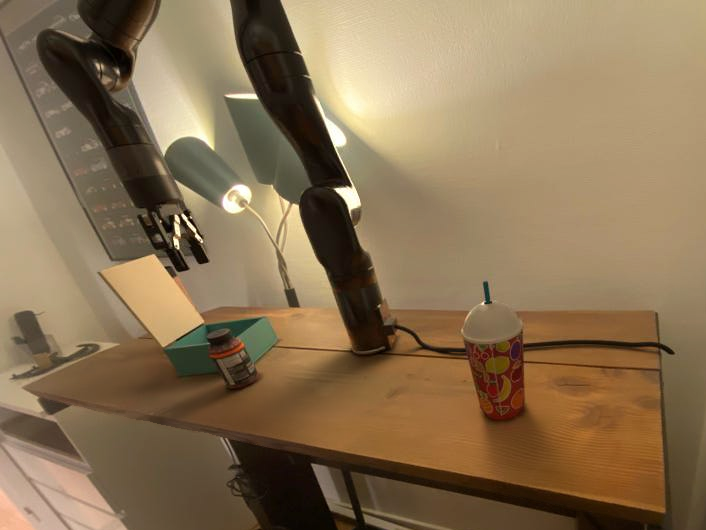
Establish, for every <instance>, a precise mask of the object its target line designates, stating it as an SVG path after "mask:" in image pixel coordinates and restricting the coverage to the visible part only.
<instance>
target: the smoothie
mask: <svg viewBox="0 0 706 530" xmlns="http://www.w3.org/2000/svg"><path fill="white" fill-rule="evenodd" d="M482 286H483V294H484V301H481V302H479V303H477V304H476V305H474V306H473V307H472V308H471V309H470V310H469V311H468V313H467V314H466V317H465V319H464V323H463V326H462V327H461V329H460V335H461V337H462V341H463V345H464V348H465V349H466V352H465V353H466V357H467V360H468V364H469V368H470V372H471V377H472V380H473V384H474V387H475V391H476V395H477V400H478V403H479V407H480V409H481V410H482V411H483V412H484V414H485V416H487V417H488V418H490V419H493V420H495V421H504V420H510V419H512V418H515V417H516V416H518V415H519V414H520V412H521V411H522V409H523V406H524V405H525V400H526V397H525V396H526V394H525V393H526V391H525V358H524V356H525V355H524V348H523V344H524V329H523V328H524V323H523V321H522V319H520V318H519V317H518V315H517V313H516V311H515V310H514V309H513V308H512V307H511V306H509V305H508V304H506V303H505V302H502V301H499V300H495V299H491V294H490V293H491V292H490V287H489V282H488V280H484V281H482Z"/></svg>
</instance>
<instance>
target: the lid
mask: <svg viewBox="0 0 706 530" xmlns="http://www.w3.org/2000/svg"><path fill="white" fill-rule="evenodd" d="M164 267H165V266H164V265H163V264H162V262H161V261H160V260H159V258H158V257H157V256H156V254H155V253H152V254H149V255H146V256H143V257H140V258H137V259H133V260H130V261H128V262H127V261H126V262H124V263H121V264H117V265H115V266H112V267H111V266H110V267H108V268H105V269H102V270H99V271H96V274H97V275H98V276H99V277H100V279H102V281H103V282H104V283H105V284H106V286H107V287H108V288H109V289H110V290H111V292H112V293H113V294H114V295H115V296H116V297H117V299H118V300H119V301H120V302H121V304H122V305H123V306H124V307H125V308H126V309H127V310H128V312H129V313H130V314H131V315H132V316H133V318H134V319H135V320H136V321H137V323H138V324H139V325H140V326H141V327H142V328H143V330H144V331H145V332H146V333H147V334H148V336H149V337H150V338H151V339H152V340H153V342H154V343H155V344H156V345H157V346H158V347H159V349H162V348H166V346H168V345H171V344H172V343H173V342H176V339H178V338H179V337H181V336H183V335H184V334H186V333H188V332H189V331H191V330H192V329H194V328H196V327H197V326H199V325H201V324H202V323H203V324H205V319H203V317H202V316H201V314H200V313H199V312H198V310H197V308H196V307H195V308H196V309H195V308H194V307H193V305H192V304H191V303H190V301H189V300H188V299H187V297H186V296H185V295H184V293H183V292H182V291H181V289H180V288H179V287H178V285H177V284H176V283H175V281H174V280H173V279H172V277H171V276H170V275H169V273H168V272H167V271H166V269H165V268H164ZM196 310H197V311H196Z"/></svg>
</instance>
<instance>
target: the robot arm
mask: <svg viewBox="0 0 706 530" xmlns="http://www.w3.org/2000/svg"><path fill="white" fill-rule="evenodd" d="M162 3H163V0H77V1H76V11H77V14H78V16H79V18H80V19H81V21H82V22H83V23H84V25H86V27H88V29H89V30H91V34H90V35H89V36H88V37H84V36H81V35H77V34H74V33H72V32H68V31H66V30H62V29H57V28H44V29H42V30H40V31H39V32H38V34H37V35H36V38H35V49H36V54H37V56H38V59H39V62H40V64H41V65H42V68H44V70H45V72H46V73H47V75H48V76H49V77H50V79H51V80H52V82H53V83H54V84H55V85H56V86H57V88H58V89H59V90H60V91H61V92H62V93H63V95H64V96H65V97H66V98H67V99H68V101H69V102H71V104H72V105H73V106H74V107H75V109H76V110H77V111H78V112H79V114H81V116H83V118H85V119H86V121H87V122H88V123H89V125H90V126H91V128H92V131H93V132H94V134H95V135H96V137H97V139H98V141H99V142H100V144H101V146H102V147H103V150H104V151H105V153H106V154H107V157H108V160H109V162H110V164H111V167H112V168H113V170H114V172H115V174H116V175H117V178H118V179H119V181H120V183H121V184H122V186H123V188H124V190H125V191H126V194H127V195H128V197H129V199H130V200H131V202H132V203H133V205H134V207H135V208H136V209H138V210H146V212H144V213H140V214H137V215H136V218H137V220H138V222H139V224H140V226H141V227H142V229H143V231H144V233H145V235H146V236H147V238H148V240H149V242H150V243H151V245H152V246H151V247H153V249H154V250H155V251H161V252H162V253H165V254H166V255H167V257H168V259H169V260H170V263H171V265H172V267H173V269H174V270H175V272H177V273H182V272H183V273H184V272H188V271H190V270H191V265H190V264H189V262H188V261H187V258H186V257H185V254H184V252H183V251H182V249H180V243H179V240H180V239H181V240H182V241H183V242H185V243H186V244H187V246H188V247H189V250H190V251H191V254H192V255H193V257H194V259H195V262H196V263H197V264H198V265H205V264H208V263H210V262H211V259H210V257H209V256H208V253H207V251H206V249H205V247H204V245H203V243H204V242H203V240H205V239H206V236H205V235H204V233H203V231H202V228H201V226H200V224H199V223H198V221H197V219H196V218H195V215H194V213H193V211H192V210H191V209H190V208H186V209H185V208H184V209H182V208H180V206H179V205H178V204H179V203H182V202H184V201H185V197H184V195H183V194H182V191H181V189H180V187H179V186H178V184H177V182H176V180H175V177H174V176H173V174H172V172H171V170H170V168H169V166H168V163H167V162H166V161H165V158H164V156H163V155H162V154H161V153H160V151H159V149H158V148H157V146H156V144H155V142H154V140H153V138H152V137H151V134H150V133H149V130H148V128H147V126H146V125H145V123H144V121H143V120H142V118H141V116H140V115H139V114H138V113H137V112H136V111H135V110H134V109H132V108H130V107H128V106H127V105H124V104H122V103H120V102H119V101H118V100H117V99H116V98H114V96H113V94H114V95H115V94H119V93H121V92H123V91H124V90H125V89H126V88H128V86H129V85H130V84H131V82H132V80H133V76H134V72H135V66H136V62H137V59H138V58H137V57H138V51H139V46H140V44H142V42H143V40H144V38H145V37H146V36H147V34H148V32H149V31H150V29H151V28H152V26H153V25H154V23H155V22H156V20H157V19H158V16H159V14H160V11H161V8H162ZM229 3H230V7H231V16H232V18H231V19H232V26H233V35H234V40H235V44H236V49H237V53H238V55H239V59H240V61H241V64H242V66H243V68H244V71H245V73H246V75H247V78H248V79H249V82H250V85H251V87H252V89H253V91H254V93H255V95H256V98H257V99H258V101H259V103H260V105H261V107H262V109H263V110H264V112H265V113H266V115H267V116H268V118H269V119H270V120H271V121H272V123H273V124H274V126H275V127H276V128H277V130H278V131H279V132H280V134H281V135H282V136H283V138H284V139H285V140H286V141H287V142H288V144H289V145H290V147H291V148H292V149H293V151H294V153H295V154H296V155H297V158H298V159H299V162H300V163H301V165H302V167H303V170H304V172H305V174H306V177H307V179H308V183H309V186H308V187H306V188H304V189H303V191H302V192H301V194H300V196H299V200H298V212H299V217H300V220H301V223H302V226H303V230H304V232H305V234H306V236H307V239H308V241H309V244H310V246H311V249H312V251H313V253H314V256H315V258H316V260H317V262H318V263H319V264H320V265H321V267H322V268H323V270H324V271H325V274H326V277H327V280H328V283H329V286H330V289H331V291H332V294H333V297H334V300H335V303H336V305H337V309H338V312H339V314H340V317H341V320H342V323H343V326H344V328H345V332H346V334H347V337H348V340H349V343H350V346H351V349H352V352H353V353H354V354H355V355H360V356H368V355H374V354H377V353H380V352H383V351H386V350H390V349H392V348H393V345H394V343H395V341H396V340H397V331H398V330H399V331H402V332H405V333H407V334H408V335H410V336H412V338H413V339H414V340H415V342H416V343H417V345H419V346H420V347H421V348H423V349H425V350H429V351H432V352H433V351H434V352H437V353H438V352H440V353H441V352H443V353H466V349H465V347H450V346H449V347H445V346H444V347H443V346H441V347H440V346H439V347H438V346H432V345H429V344H427V343H425V342H424V341H422V340H421V338H420V337H419V335H418V334H417V333H416V332H415V331H413V329H410V328H408V327H406V326H404V325H400V324H399V323H398V319H397V317H396V316H392V315H391V312H390V308H389V304H388V301H387V298H386V297H383V295H382V292H381V288H380V284H379V281H378V277H377V273H376V271H375V266H374V263H373V260H372V256H371V254H370V252H369V251H368V250H366V249H364V248H363V247H362V245H361V243H360V240H359V237H358V234H357V230H356V227H357V226H358V225H359V223H360V222H361V219H362V216H363V206H362V202H361V199H360V197H359V194H358V192H357V190H356V187H355V185H354V184H353V182H352V179H351V177H350V175H349V173H348V170H347V169H346V167H345V165H344V163H343V160H342V158H341V155H340V154H339V151H338V149H337V147H336V145H335V142H334V138H333V135H332V133H331V130H330V127H329V125H328V121H327V119H326V116H325V113H324V110H323V108H322V106H321V103H320V100H319V97H318V95H317V92H316V89H315V88H316V87H315V86H314V83H313V79H312V77H311V75H310V71H309V69H308V66H307V63H306V61H305V58H304V55H303V52H302V51H301V49H300V45H299V43H298V41H297V38H296V36H295V33H294V31H293V28H292V25H291V23H290V21H289V18H288V15H287V13H286V10H285V8H284V4H283V2H282V0H229ZM572 345H574V346H575V345H576V346H577V345H588V346H589V345H591V346H594V345H595V346H613V347H623V348H656V349H659V350H662V351H664V352H665V353H666V354H668V355H670V356H674V355H676V353H675V351H674V350H673V349H672V348H670V347H669V346H668V345H666V344H663V343H660V342H656V341H636V342H635V341H634V342H633V341H631V342H630V341H620V340H605V339H604V340H603V339H565V340H563V339H561V340H550V341H548V340H547V341H538V342H536V341H535V342H525V343H523V349H529V348H540V347H542V348H543V347H555V346H572Z"/></svg>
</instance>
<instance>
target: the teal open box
mask: <svg viewBox="0 0 706 530" xmlns="http://www.w3.org/2000/svg"><path fill="white" fill-rule="evenodd" d="M203 324H204V325H202V326H201V327H199V328H197V329H196V330H194V331H193V332H191V333H189V334H188V335H186V336H185V337H183V338H181V339H180V340H178V341H174V343H173V342H172V343H171V344H169V346H167V347H164V349H163V352H164V353H165V355H166V357H167V358H168V360H169V361H170V363H171V365H172V367H173V368H174V370H175V371H176V372H177V375H178V376H179V377H183V376H184V377H186V376H192V375H201V374H210V373H218V372H219V371H218V369H217V367H216V366H215V364H214V362H213V360H212V359H211V357H210V355H209V353H208V348H209V346H210V343H209V342H208V340H207V338H206V336H207V335H208V334H210V333H212V332H214V331H217V330H221V329H229V330H230V332H231V334H232V336H233V337H236V338H239V339H240V340H241V341H242V343H243V345H244V346H245V348H246V350H247V352H248V354H249V356H250V358H251V360H252V362H253V364H254V365H255V363H256V362H257V361H258V360H259V359H260V358H262V356H264V355H265V354H266V353H267V352H268V351H269V350H270V349H271V348H272V347H273V346H274V345H276V344H277V343H278V342H279V337H278V336H277V334H276V332H275V329H274V327H273V325H272V323H271V320H270V318H269V316H268V315H263V316H255V317H249V318H248V317H247V318H241V319H233V320H226V321H217V322H210V323H203ZM219 373H220V372H219Z"/></svg>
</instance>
